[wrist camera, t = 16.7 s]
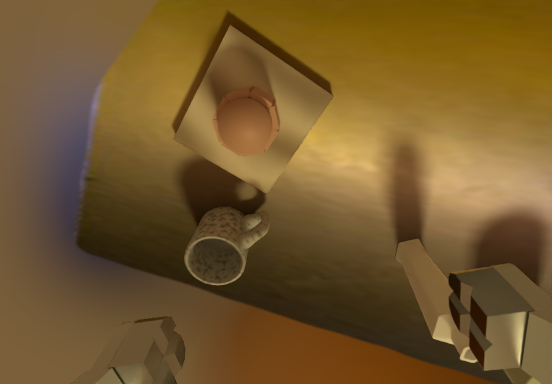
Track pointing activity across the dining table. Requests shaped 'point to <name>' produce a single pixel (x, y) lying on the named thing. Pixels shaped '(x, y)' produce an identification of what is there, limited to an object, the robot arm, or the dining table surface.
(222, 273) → the mug
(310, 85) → the board
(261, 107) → the cap
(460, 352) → the perfume bottle
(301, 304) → the dining table surface
